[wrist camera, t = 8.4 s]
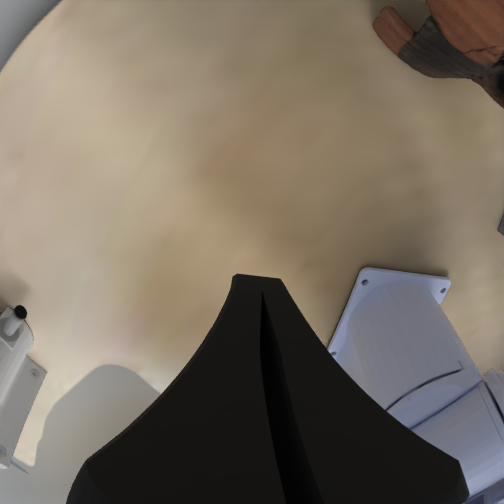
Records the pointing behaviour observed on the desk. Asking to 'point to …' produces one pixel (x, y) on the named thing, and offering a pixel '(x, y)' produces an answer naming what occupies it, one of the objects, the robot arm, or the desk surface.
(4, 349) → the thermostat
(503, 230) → the tan l-shaped slab
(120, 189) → the desk surface
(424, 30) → the pottery mug
